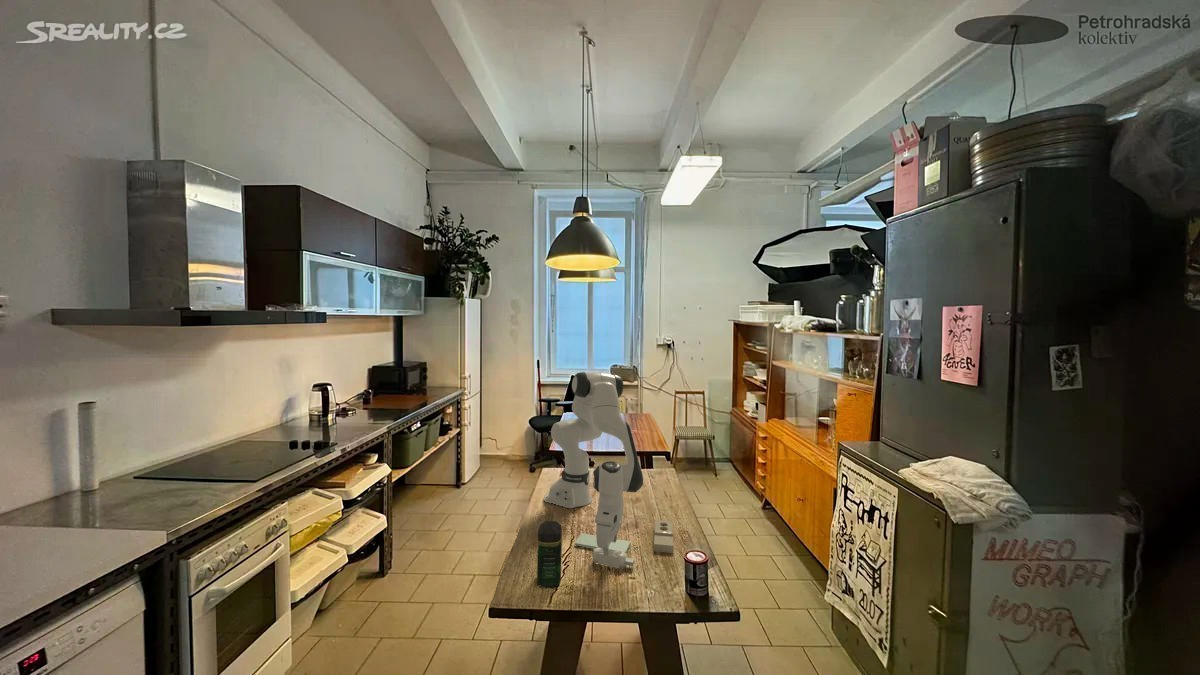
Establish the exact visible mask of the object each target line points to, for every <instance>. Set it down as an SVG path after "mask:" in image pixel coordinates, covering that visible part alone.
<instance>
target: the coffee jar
mask: <svg viewBox="0 0 1200 675" xmlns="http://www.w3.org/2000/svg"><path fill="white" fill-rule="evenodd" d="M562 532H563V530H562V525H561V524H560V523H559V522H557V521H556V520H545V521H544V522H542V523H541V524H540V525H539V527H538V530H537V569H536V570H537V572H536V577H537V578H536V582H537V585H538V586H539V587H543V588H547V587H549V588H553V587H557V586H559V584H560V583H561V579H562V557H563V556H562V555H563V553H562V551H563V540H562V538H563V536H562V535H563V534H562Z"/></svg>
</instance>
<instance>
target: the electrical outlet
mask: <svg viewBox="0 0 1200 675" xmlns="http://www.w3.org/2000/svg"><path fill="white" fill-rule="evenodd" d="M673 526H674V525H673V521H671V520H670V521H669V520H668V521H667V520H661V519H660V520H657V519H656V520H654V536H653V539H654V540H653V552H657V553H670V554H673V553H674V550H675V548H674V528H673Z"/></svg>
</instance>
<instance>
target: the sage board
mask: <svg viewBox="0 0 1200 675" xmlns="http://www.w3.org/2000/svg"><path fill="white" fill-rule="evenodd" d="M575 545H576V546H575ZM631 545H632V541H631V540H630V541H629V540H623V539H618V538H617V541H616V542H615V543H614V542H611V543H610V545H609V549H610V550H616V551H621V552H625V553H626V554H627V553H628V551H629V549H630V547H631ZM574 546H575V547H577V546H582V547H581V548H583V547H586V548H585V549H588V548H593V549H592V550H594V549H595V548H600V547H598V545H597V538H596V534H595V535H594V534H589V533H584V532H583V533H582V532H581V533H580V535H579V536H578V537H577V539H576V540H575V541H574Z"/></svg>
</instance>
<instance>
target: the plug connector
mask: <svg viewBox="0 0 1200 675" xmlns="http://www.w3.org/2000/svg"><path fill="white" fill-rule="evenodd" d="M592 550H593V551H592V552H593V553H592V554H593V556H592V557H593V558H592V559H593V560H592V562H593V561H594V562H595V563H598V564H603V565H607V566H606V567H608V566H611V567H610V568H613V567H615V568H614V569H618V568H619V570H623V569H626V567H627V566H630V567H631V566H632V567H633V566H634V564H635V558H632V557H631V558H630V557H627V553H625V552H621V551H616V550H610V551H609V552H610V553H609V555H608V556H604V554H603V548H595V549H592ZM594 562H593V563H594ZM595 563H594V564H595ZM598 564H597V565H598ZM603 565H602V566H603ZM622 568H623V569H622Z"/></svg>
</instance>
